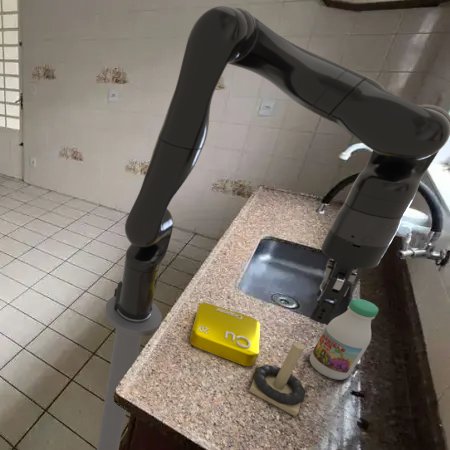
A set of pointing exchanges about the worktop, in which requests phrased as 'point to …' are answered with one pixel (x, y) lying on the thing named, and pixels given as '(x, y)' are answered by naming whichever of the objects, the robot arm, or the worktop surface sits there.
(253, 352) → the element tile
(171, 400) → the worktop surface
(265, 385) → the ring
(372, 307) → the milk bottle
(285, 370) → the stand
